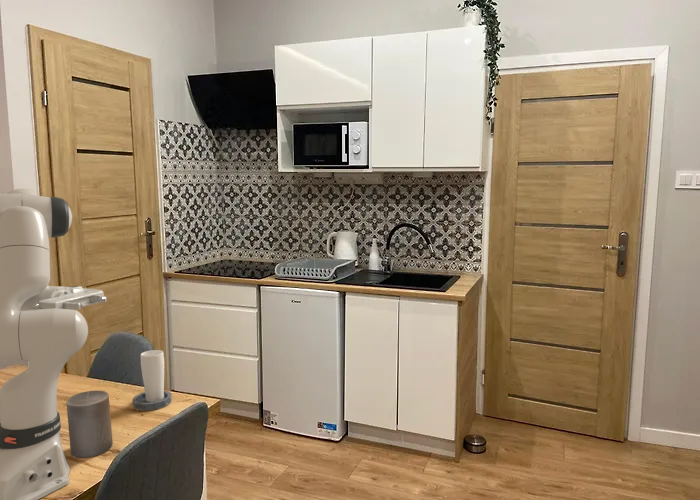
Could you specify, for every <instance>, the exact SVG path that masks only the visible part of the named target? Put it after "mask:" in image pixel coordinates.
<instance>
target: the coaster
mask: <svg viewBox="0 0 700 500" xmlns="http://www.w3.org/2000/svg"><path fill="white" fill-rule="evenodd" d="M131 403H132V406H133V408H134V409H135V410H138V411H143V412H144V411H146V412H147V411H148V412H149V411H155V410H160V409H162V408H165V407H168V406H169V405H170V404H171V403H172V393H171V392H169V391H168V390H164V399H163V400H161V401H157V402H152V403H149V402H147V401H146V396H145V391H144V392H140V393H139V394H136V395H134V396H133V397H132V401H131Z"/></svg>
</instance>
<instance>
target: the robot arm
mask: <svg viewBox="0 0 700 500" xmlns="http://www.w3.org/2000/svg"><path fill="white" fill-rule="evenodd" d="M72 222H73V212H72V210H71V208H70V206H69V203H68V202H67V201H66V199H64V198H61V197H58V196H54V195H53V196H50V197H48V196H42V195H38V194H37V193H35V192H34V191H32V190H29V189H25V188H16V189H12V190H10V191H8V192H6V193H0V364H6V363H15V362H21V361H23V362H28V368H26V370H24V371H22V372H20V373H19V374H17V375H15V376H14V377H11V378H10V379H8V381H6V382H5V383H4V384H3V385H2V386H1V388H0V500H40V499H41V498H44V497H46V496H48V495H50V494H51V493H54V492H55V491H57V490H59V489H61V488H63V487H65V486H67V485H68V484H69V483H70V478H69V473H70V471H71V469H70V465H69V464H68V462H67V459H66V456H65V453H64V449H63V445H62V440H61V435H60V430H61V427H62V426H61V416H60V412H59V411H58V404H57V403H58V398H57V397H58V396H57V395H58V394H57V393H58V383H59V382H58V380H59V377H60V375H61V372H62V370H63V368H64V367H65V365H66V363H67V362H68V361H69V360H70V358H71V357H72V356H74V355H75V354H77V352H79V351H80V350H81V349H82V348H83V347H84V345H85V343H86V341H87V338H88V335H89V327H88V326H89V325H88V322H87V320H86V318H85V317H84V316H83V314H82V313H81V312H80V311H78V310H82V309H83V308H84V307H88V306H92V305H96V304H104V303H106V302H107V296H105V293H104V291H103V290H101V289H96V288H89V287H88V288H87V287H86V288H85V287H84V288H83V286H81V285H77V286H74V285H73V286H59V285H58V286H56V285H49V284H50V282H51V257H50V256H51V251H50V238H52V239H54V238H60V237H63V236H65V235H66V234H68V233H69V230H70V228H71V225H72Z"/></svg>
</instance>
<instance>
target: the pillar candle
mask: <svg viewBox="0 0 700 500" xmlns="http://www.w3.org/2000/svg"><path fill="white" fill-rule="evenodd" d="M65 404H66V414H67V423H68V424H67V427H68V435H69V436H68V437H69V449H70V455H71V456H72V457H74V458H77V459H81V458H92V457H97V456H100V455H102V454H105V453H106V452H108V451H109V450H111V448H112V446H113V442H114V440H113V431H112V430H113V429H112V418H111V417H112V416H111V407H110V406H111V405H110V398H109V393H108V392H107V391H105V390H87V391H82V392H79V393H76V394H74V395H72V396H69V398H67V400H66V402H65Z"/></svg>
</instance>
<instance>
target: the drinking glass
mask: <svg viewBox="0 0 700 500" xmlns="http://www.w3.org/2000/svg"><path fill="white" fill-rule="evenodd" d="M164 355H165V354H164V350H161V349H155V350H154V349H151V350H146V351H144V352H141V354H140V371H141V374H142V382H143V388H144V392H145V396H146V401H147V402H149V403H152V402H157V401H161V400H163V399H164V391H165V390H164V389H165V356H164Z"/></svg>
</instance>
